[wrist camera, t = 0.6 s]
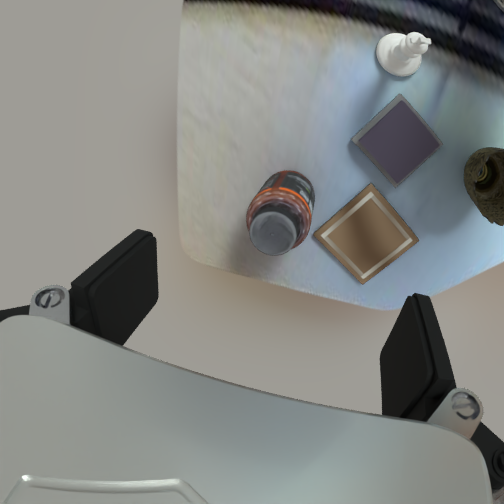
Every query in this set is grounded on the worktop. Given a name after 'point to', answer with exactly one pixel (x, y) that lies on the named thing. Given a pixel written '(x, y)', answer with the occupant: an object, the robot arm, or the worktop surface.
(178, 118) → the worktop surface
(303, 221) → the supplement bottle
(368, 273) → the stamp board
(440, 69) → the worktop surface
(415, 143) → the ink pad
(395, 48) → the chess piece
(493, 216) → the cup
